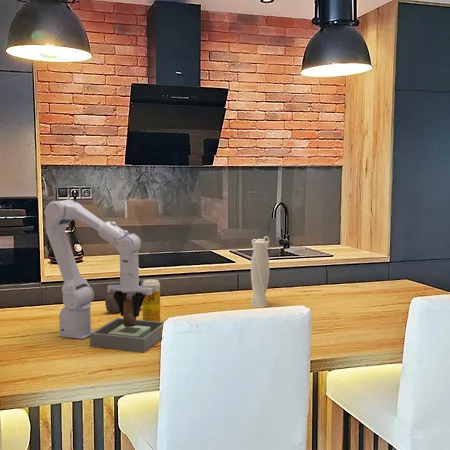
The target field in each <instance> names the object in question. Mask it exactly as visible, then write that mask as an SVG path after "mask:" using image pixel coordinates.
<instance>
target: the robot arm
mask: <svg viewBox="0 0 450 450" xmlns="http://www.w3.org/2000/svg"><path fill="white" fill-rule="evenodd" d="M43 214H44V216H45V233H46V235H47V239H48V240H49V244H50V247H51V249H52V251H53V254H54V257H55V261H56V263H57V265H58V269H59V271H60V273H61V277H62V279H63V285H62V288H61V292H62V303H63V305H64V307H62V308H61V309H60V312H59V314H58V315H59V317H58V320H59V321H58V324H59V325H58V326H59V334H57V335H58V337H63V338H71V339H81V340H84V339H86V338H88V337H90V333H92V332H93V331H95V330H96V329H95V330H94V329H92V326H91V325H92V324H91V323H92V322H91V318H92V317H91V305H92V302H93V300H94V298H95V292H94V290H93V287H91V286H90V285H89V282H88V280H87V279H86V278H84V277H83V276H82V275H81V273H80V269H79V267H78V264H77V262H76V259H75V255H74V254H73V251H72V248H71V245H70V242H69V239H68V237H67V234H66V229H67V227H68V225H69V223H71V222H72V221H73V220H76V221H79V222H81V223H83V224H84V225H86V226H88V227H90V228H92V229H94V230H95V231H97V232H98V237H100V238H101V239H102V240H104V241H105V242H108V243H109V244H111V245H112V246H114V247H115V248H116V250H117V252H118V254H119V284H109V285H107V287H106V288H107V289H106V290H107V291H106V292H107V293H114V295H113V297H114V299H115V300H116V302H117V304H118V307H119V310H120V312H119V313H120V316H121V317H123V300H124V299H126V297H127V294H133V296H132V299H133V304H134V317H136V318H137V317H139V316H140V311H141V308H142V306H143V305H142V302H143V300H144V298H145V296H146V295H151V294H152V288H147V287H142V285H139V283H140V280H139V279H140V277H139V276H140V275H139V273H140V269H139V261H140V260H139V251H140V249H141V247H142V240H141V238H140V236H138V235H137V234H136V233H129V231H128V230H126V229H122V228H121V227H120V226H118V225H117V222H115V221H105V222H104V221H103V220H102V219H101V218H99V217H97V215H95V214H93V213H92V212H90V211H89V210H88V209H86V208H85V207H83V206H82V204H81V203H79V202H76V201H75V200H73V199H71V198H70V199H64V200H52V201H50V202H49V203H48V204H47V205H46V207H45V209H44V211H43ZM141 305H142V306H141Z"/></svg>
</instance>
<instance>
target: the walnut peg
mask: <svg viewBox="0 0 450 450" xmlns="http://www.w3.org/2000/svg"><path fill="white" fill-rule="evenodd" d="M122 318H123V324H124V326H126V327H133V326H136V320H137V317H134V304H133V299H124V300H123V316H122Z"/></svg>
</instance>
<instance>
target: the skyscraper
mask: <svg viewBox="0 0 450 450" xmlns="http://www.w3.org/2000/svg"><path fill="white" fill-rule="evenodd" d="M266 238H267V240H266ZM269 244H270V238H269V236H268V235H266V236H264V237H263V238H258V239H257V238H253V239H252V240H251V245H252V249H253V250H252V255H251V260H250V261H251V262H250V279H251V288H252V298H251V302H250V305H251V304H252V305H251V306H253V305H254V306H253V307H255V306H256V307H259V306H269V303H268V300H267V296H266V294H267V291H268V290H267V289H268V286H269V285H268V284H269V280H270V279H269V278H270V270H271V269H270V258H269V253H268V248H269ZM256 307H255V308H256ZM259 308H260V307H259Z"/></svg>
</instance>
